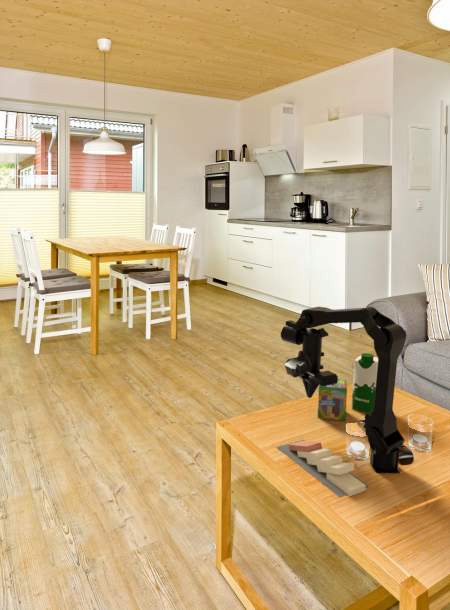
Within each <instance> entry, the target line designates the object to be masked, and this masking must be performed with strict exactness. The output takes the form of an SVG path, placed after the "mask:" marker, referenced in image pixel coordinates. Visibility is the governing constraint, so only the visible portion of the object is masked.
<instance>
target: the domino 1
mask: <svg viewBox="0 0 450 610" xmlns="http://www.w3.org/2000/svg"><path fill="white" fill-rule="evenodd" d="M299 441H300V442H297V441H295V442H296V443H293V442H292V443H293V444H289V443H288V444H289V450H292V451H300V452H311V451H314V450H318V449H321V448H323V445H322V442H320V441H307V440H304V441H301V440H299Z"/></svg>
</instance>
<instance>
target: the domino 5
mask: <svg viewBox="0 0 450 610" xmlns="http://www.w3.org/2000/svg"><path fill="white" fill-rule="evenodd" d="M326 478H327V479H328V480H329V481H331V482H332V483H333V484H335V485H336V486H337V487H338V488H340V489H341V490H342V491H344V492H345V493H346V494H347V495H348V496H350V497H351V496H353V495H358V494H360V493H364V492H366V488H365V487H366V485H365V484H363V483H362V482H361V481H359V480H358V479H356V478H355V477H353V476H352V475H351V474H349V473H348V472H346V473H343V474H340V475H338V474H332V473H327V476H326Z"/></svg>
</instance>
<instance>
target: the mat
mask: <svg viewBox="0 0 450 610" xmlns="http://www.w3.org/2000/svg"><path fill="white" fill-rule="evenodd" d="M300 441H305V439H302V440H301V439H300V440H297V441H294V442H290V443H286V444H283V445H279V446H275V447H276V449H278V451H280V452H281V453H283V454H284V455H285V456H286V457H288V459H290V460H291V461H292V462H293V463H295V464H296V465H298V466H299V467H301V468H302V469H303V470H304V471H306V472H307V473H308V474H309V475H311V476H312V477H314V479H316V480H317V481H318V482H320V483H321V484H322V485H324V486H325V487H326V488H327V489H328V490H330V491H332V492H333V493H334V494H335V495H337V496H338V497H339V498H342V497H343V496H347V495H348V494H346V493H345V492H344V491H342V490H341V489H340V488H338V487H337V486H336V485H335V484H333V483H332V482H331V481H329V480H328V479H327V478H326V476H327V473H325V472H318V469H317V465H311V464H308V463H307V458H303V457H298V453H297V451H292V450H289V444H293V443H296V442H300ZM348 473H349V474H351V475H352V476H353V477H355V478H356V479H358V480H359V481H361V482H362V483H363V484H365V485H366V487H365V489H368V488H370V487H371V486H370V485H369V484H368V483H366V482H364V481H363V480H362V479H360V478H359V477H358V476H356V475H355V474H353V473H352V472H351V471H349V472H348Z"/></svg>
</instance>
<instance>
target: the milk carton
mask: <svg viewBox="0 0 450 610" xmlns="http://www.w3.org/2000/svg"><path fill="white" fill-rule="evenodd" d="M377 367H378V356H377V357H376V356H374V355H373V353H367V352H365V353H364V352H363V353H362V354H361V355H359V356H358V357H357V358H356V359H354V364H353V380H352V396H351V398H352V400H351V409H352V410H354V411H359V412H364V413H368V412H371V411H373V409H374V400H375V389H376V378H377Z"/></svg>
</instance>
